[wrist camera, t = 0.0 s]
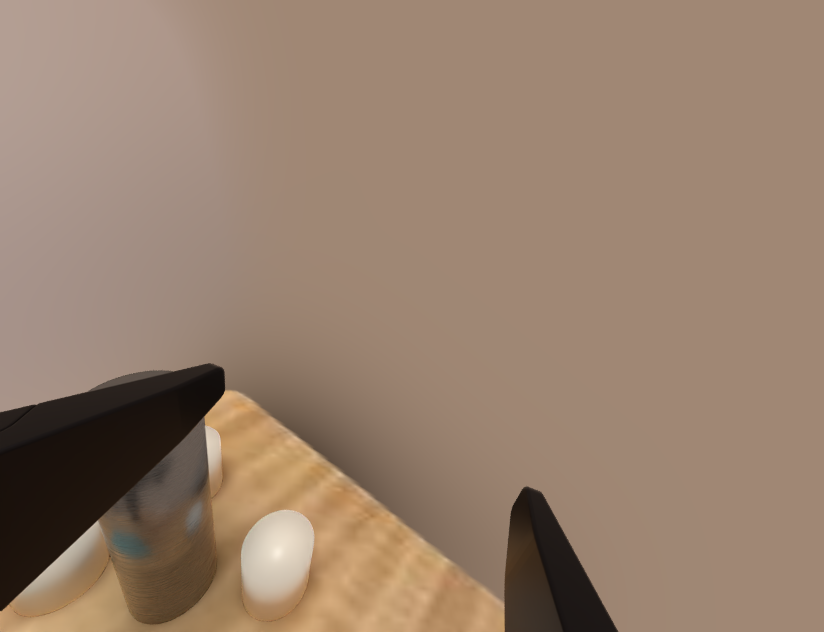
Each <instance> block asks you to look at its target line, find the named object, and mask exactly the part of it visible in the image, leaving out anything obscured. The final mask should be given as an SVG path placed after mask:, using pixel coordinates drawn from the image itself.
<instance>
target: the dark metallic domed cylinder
mask: <svg viewBox="0 0 824 632" xmlns="http://www.w3.org/2000/svg"><path fill="white" fill-rule="evenodd" d="M170 372H173V371H145V372H138V373H133V374H129V375H125V376H121V377H118V378H115V379H112V380H110V381H107V382H105V383H103V384H101V385H98V386H97V387H95V388H93V389H91V390H90V391H94V390H98V389H102V388H106V387H111V386H115V385H119V384H123V383H127V382H132V381H136V380H140V379H144V378H149V377H153V376H157V375H161V374H166V373H170ZM88 392H89V391H88ZM98 523H99V526H100V528H101V531H102V534H103V537H104V540H105V543H106V545H107V548H108V551H109V554H110V557H111V560H112V563H113V565H114V568H115V571H116V574H117V577H118V580H119V582H120V585H121V588H122V591H123V594H124V597H125V600H126V602H127V605H128V608H129V611H130V613H131V615H132V616H133V617H134V618H135V619H136V620H138V621H140V622H142V623H146V624H159V623H163V622H167V621H169V620H172V619H174V618H176V617H178V616H180V615H181V614H183V613H185V612H186V611H187V610H189V609H190V608H191V607H192V606H193V605H194V604H196V603H197V602H198V600H199V599H200V598H201V597H202V596H203V595H204V593H205V592H206V591H207V589H208V588H209V586H210V584H211V582H212V580H213V577H214V575H215V571H216V566H217V558H216V547H215V535H214V524H213V512H212V500H211V489H210V477H209V465H208V454H207V442H206V431H205V419H204V417H203V419H202V420H201V421H200V422H199V423H198V424H197V425H196V426H195V428H194V429H193V430H192V431H191V432H190V433H189V434H188V435H187V436H186V437H185V438H184V439H183V440H182V441H181V442H180V443H179V444H178V445H177V446H176V447H175V448H174V449H173V450H172V451H171V452H170V453H169V454H168V455H167V456H166V457H165V458H164V459H163V460H161V461H160V462H159V463H158V464H157V465H156V466H155V467H154V468H153V469H152V470H151V471H150V472H149V473H148V474H147V475H146V476H145V477H143V478H142V479H141V480H140V481H139V482H138V483H137V484H136V485H135V486H134V487H133V488H132V489H131V490H130V491H129V492H128V493H126V494H125V495H124V496H123V497H122V498H121V499H120V500H119V501H118V502H117V503H116V504H115V505H114V506H113V507H112V508H111V509H110V510H108V511H107V512H106V513H105V514H104V515H103V516H102V517H101V518H100V519H99V520H98Z"/></svg>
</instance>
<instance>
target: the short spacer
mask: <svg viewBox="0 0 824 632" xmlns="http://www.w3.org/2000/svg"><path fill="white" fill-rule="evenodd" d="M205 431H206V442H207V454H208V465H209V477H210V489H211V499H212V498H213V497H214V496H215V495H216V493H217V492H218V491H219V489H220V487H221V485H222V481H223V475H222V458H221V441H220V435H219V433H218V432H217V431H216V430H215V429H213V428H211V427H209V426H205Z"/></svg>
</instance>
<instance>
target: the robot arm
mask: <svg viewBox="0 0 824 632" xmlns="http://www.w3.org/2000/svg"><path fill="white" fill-rule="evenodd" d="M224 375H225V374H224V369H223V368H222V367H220V366H217V365H214V364H211V363H208V364H204V365H199V366H195V367H191V368H187V369H183V370H178V371H174V372H170V373H166V374H161V375H157V376H153V377H149V378H144V379H140V380H136V381H132V382H127V383H123V384H119V385H115V386H111V387H106V388H102V389H98V390H94V391H89V392H85V393H81V394H77V395H72V396H69V397H64V398H60V399H55V400H51V401H47V402H43V403H39V404H38V405H30V406H26V407H22V408H18V409H13V410H9V411H4V412H0V611H2V610H3V609H4V608H6V607H7V606H8V605H9V604H10V603H11V602H12V601H13V600H14V599H15V598H16V597H17V596H18V595H19V594H20V593H21V592H22V591H24V590H25V589H26V588H27V587H28V586H29V585H30V584H31V583H32V582H33V581H34V580H35V579H36V578H37V577H38V576H39V575H41V574H42V573H43V572H44V571H45V570H46V569H47V568H48V567H49V566H50V565H51V564H52V563H53V562H54V561H55V560H56V559H58V558H59V557H60V556H61V555H62V554H63V553H64V552H65V551H66V550H67V549H68V548H69V547H70V546H71V545H72V544H73V543H74V542H76V541H77V540H78V539H79V538H80V537H81V536H82V535H83V534H84V533H85V532H86V531H87V530H88V529H89V528H90V527H91V526H93V525H94V524H95V523H96V522H97V521H98V520H99V519H100V518H101V517H102V516H103V515H104V514H105V513H106V512H107V511H108V510H110V509H111V508H112V507H113V506H114V505H115V504H116V503H117V502H118V501H119V500H120V499H121V498H122V497H123V496H124V495H125V494H126V493H128V492H129V491H130V490H131V489H132V488H133V487H134V486H135V485H136V484H137V483H138V482H139V481H140V480H141V479H142V478H143V477H145V476H146V475H147V474H148V473H149V472H150V471H151V470H152V469H153V468H154V467H155V466H156V465H157V464H158V463H159V462H160V461H161V460H163V459H164V458H165V457H166V456H167V455H168V454H169V453H170V452H171V451H172V450H173V449H174V448H175V447H176V446H177V445H178V444H179V443H180V442H181V441H182V440H183V439H184V438H185V437H186V436H187V435H188V434H189V433H190V432H191V431H192V430H193V429H194V428H195V426H196V425H197V424H198V423H199V422H200V421H201V420H202V419H203V417H204V416H205V415H206V414H207V413H208V412H209V411H210V410H211V408H212V407H213V406H214V405H215V404H216V403H217V402H218V401H219V399H220V398H221V397H222V396H223V394H224V392H225V376H224ZM505 632H618V630H617V629H616V627H615V625H614V623H613V621H612V620H611V618H610V616H609V614H608V612H607V610H606V609H605V607H604V605H603V604H602V601H601V600H600V598H599V596H598V594H597V592H596V590H595V589H594V587H593V585H592V583H591V581H590V579H589V577H588V576H587V574H586V572H585V570H584V568H583V567H582V565H581V563H580V561H579V559H578V557H577V556H576V554H575V552H574V550H573V548H572V546H571V545H570V543H569V541H568V539H567V537H566V536H565V534H564V532H563V530H562V528H561V527H560V525H559V523H558V521H557V519H556V517H555V516H554V514H553V512H552V510H551V508H550V506H549V505H548V503H547V501H546V499H545V497H544V496H543V494H542V493H541V492H540V491H538V490H535V489H533V488H530V487H524V488H523V489H522V491H521V493H520V494H519V496H518V498H517V499H516V501H515V503H514V505H513V507H512V511H511V516H510V527H509V538H508V548H507V559H506V571H505Z"/></svg>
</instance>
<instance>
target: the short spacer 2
mask: <svg viewBox="0 0 824 632" xmlns="http://www.w3.org/2000/svg"><path fill="white" fill-rule="evenodd" d="M313 546H314V531H313V528H312V525H311V523H310V522H309V520H308V519H307V518H306V517H305V516H304V515H302V514H301V513H299V512H296V511H292V510H280V511H276V512H273V513H270V514H268V515H266V516H265V517H263V518H262V519H260V520H259V521H258V522H257V523H256V524H255V525H254V526H253V527H252V528H251V529H250V531H249V532H248V534H247V536H246V538H245V540H244V542H243V546H242V550H241V574H242V600H243V604H244V607H245V609H246V611H247V612H248V614H249V615H250V616H251V617H253V618H255V619H257V620H259V621H274V620H277V619H280V618H282V617H284V616H285V615H287V614H288V613H290V612H291V611H292V610H293V609H294V608H295V607H296V606H297V605H298V603H299V602H300V600H301V599H302V597H303V595H304V593H305V591H306V587H307V584H308V578H309V572H310V565H311V559H312V552H313Z"/></svg>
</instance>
